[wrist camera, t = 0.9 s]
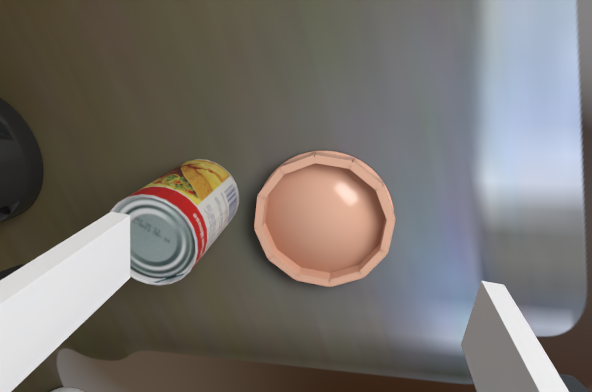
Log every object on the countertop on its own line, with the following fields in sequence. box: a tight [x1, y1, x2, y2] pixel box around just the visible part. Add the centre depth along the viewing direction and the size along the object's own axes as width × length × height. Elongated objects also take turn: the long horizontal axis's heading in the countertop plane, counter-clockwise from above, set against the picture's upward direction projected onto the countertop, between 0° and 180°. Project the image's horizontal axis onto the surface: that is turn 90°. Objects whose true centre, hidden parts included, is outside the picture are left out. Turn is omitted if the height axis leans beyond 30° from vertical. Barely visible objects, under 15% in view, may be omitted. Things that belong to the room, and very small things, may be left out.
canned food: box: [109, 159, 239, 286], centre depth 39 cm, size 8×8×12 cm
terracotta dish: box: [254, 150, 395, 287], centre depth 42 cm, size 14×14×2 cm
